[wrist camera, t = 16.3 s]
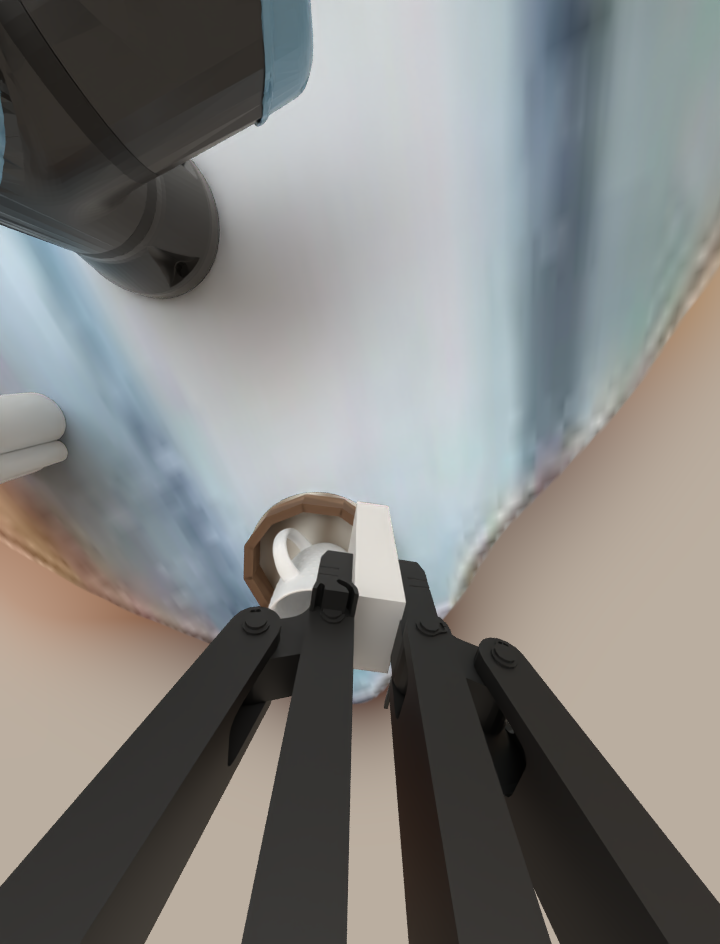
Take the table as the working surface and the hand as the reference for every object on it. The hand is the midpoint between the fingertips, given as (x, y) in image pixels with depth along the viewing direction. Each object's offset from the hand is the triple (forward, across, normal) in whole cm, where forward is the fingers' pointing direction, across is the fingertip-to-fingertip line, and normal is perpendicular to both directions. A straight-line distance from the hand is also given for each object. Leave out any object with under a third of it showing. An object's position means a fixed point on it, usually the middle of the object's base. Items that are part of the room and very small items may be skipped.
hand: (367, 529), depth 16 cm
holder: (+28, -3, -20) cm, 35 cm away
